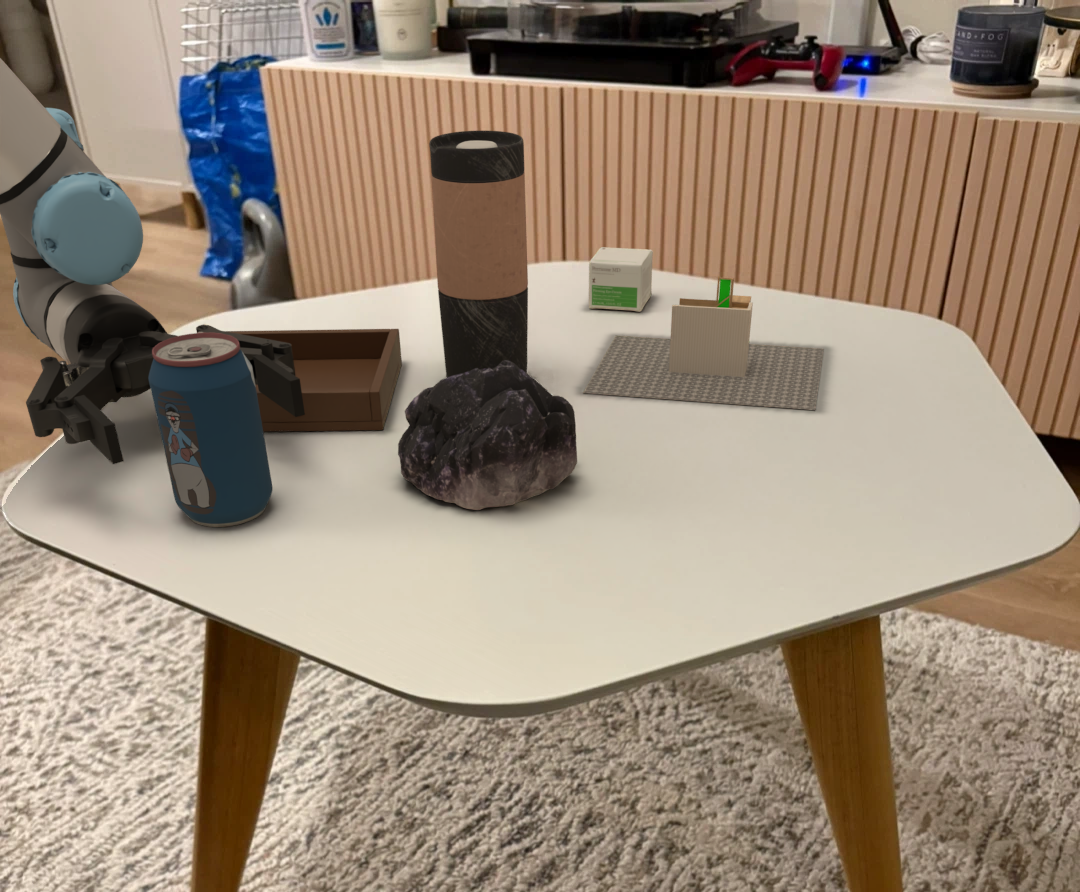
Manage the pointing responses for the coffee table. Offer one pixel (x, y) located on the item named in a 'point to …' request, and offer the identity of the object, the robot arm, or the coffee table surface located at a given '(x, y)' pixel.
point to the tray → (336, 379)
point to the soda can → (211, 428)
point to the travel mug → (481, 248)
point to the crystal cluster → (488, 438)
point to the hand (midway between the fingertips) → (209, 420)
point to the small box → (620, 278)
